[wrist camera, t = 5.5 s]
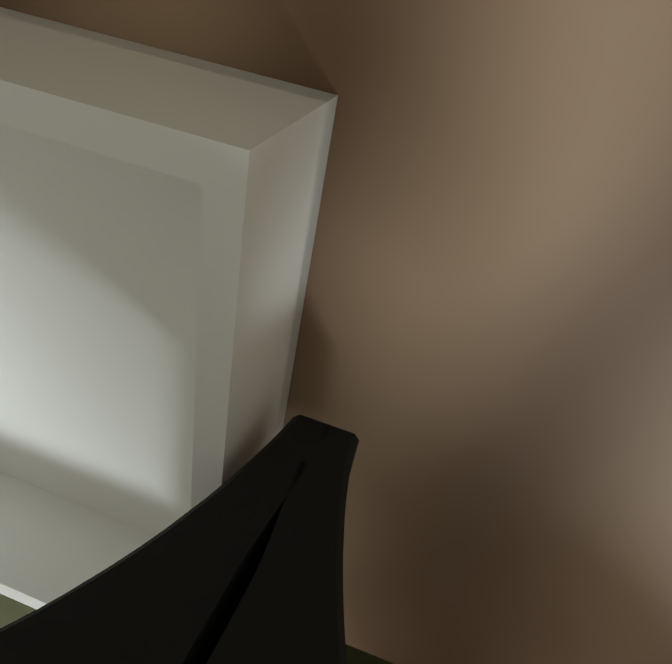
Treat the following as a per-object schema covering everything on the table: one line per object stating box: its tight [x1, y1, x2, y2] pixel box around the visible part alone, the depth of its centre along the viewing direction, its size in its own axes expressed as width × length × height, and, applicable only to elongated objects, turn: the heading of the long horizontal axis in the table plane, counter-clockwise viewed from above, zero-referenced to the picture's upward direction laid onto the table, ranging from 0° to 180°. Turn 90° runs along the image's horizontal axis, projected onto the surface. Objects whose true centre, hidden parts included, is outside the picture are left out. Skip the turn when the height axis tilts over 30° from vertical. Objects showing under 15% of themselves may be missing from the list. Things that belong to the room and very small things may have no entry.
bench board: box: [0, 0, 672, 664], centre depth 11 cm, size 28×16×5 cm, turn 80°
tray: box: [0, 7, 338, 609], centre depth 11 cm, size 9×12×3 cm
